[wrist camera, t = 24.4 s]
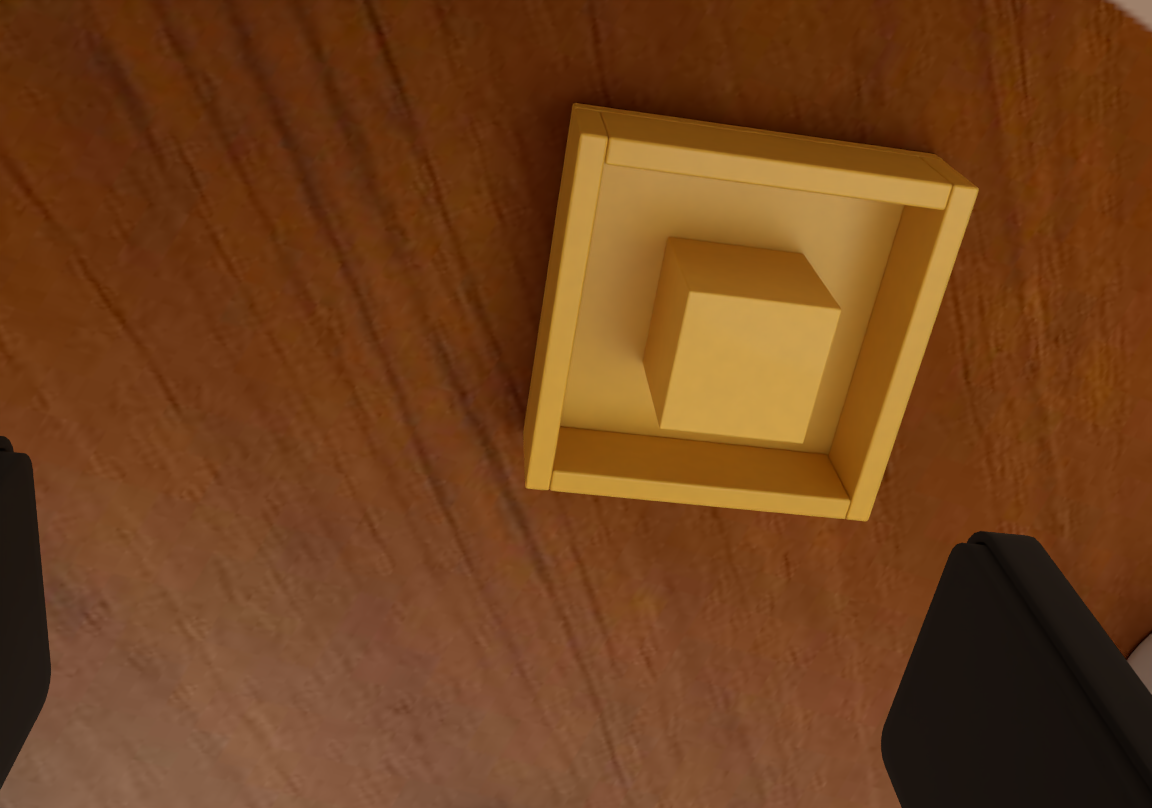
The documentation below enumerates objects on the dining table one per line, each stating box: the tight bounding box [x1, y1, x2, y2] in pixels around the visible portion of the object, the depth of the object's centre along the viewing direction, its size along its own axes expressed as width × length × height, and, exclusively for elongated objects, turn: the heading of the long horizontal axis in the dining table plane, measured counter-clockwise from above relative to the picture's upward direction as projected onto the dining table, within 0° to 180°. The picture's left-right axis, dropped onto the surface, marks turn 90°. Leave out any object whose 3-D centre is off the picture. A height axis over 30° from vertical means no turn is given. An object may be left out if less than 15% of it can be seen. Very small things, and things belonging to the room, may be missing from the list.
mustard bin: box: [523, 103, 979, 521], centre depth 35 cm, size 12×12×4 cm
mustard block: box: [643, 237, 842, 444], centre depth 34 cm, size 4×4×4 cm
